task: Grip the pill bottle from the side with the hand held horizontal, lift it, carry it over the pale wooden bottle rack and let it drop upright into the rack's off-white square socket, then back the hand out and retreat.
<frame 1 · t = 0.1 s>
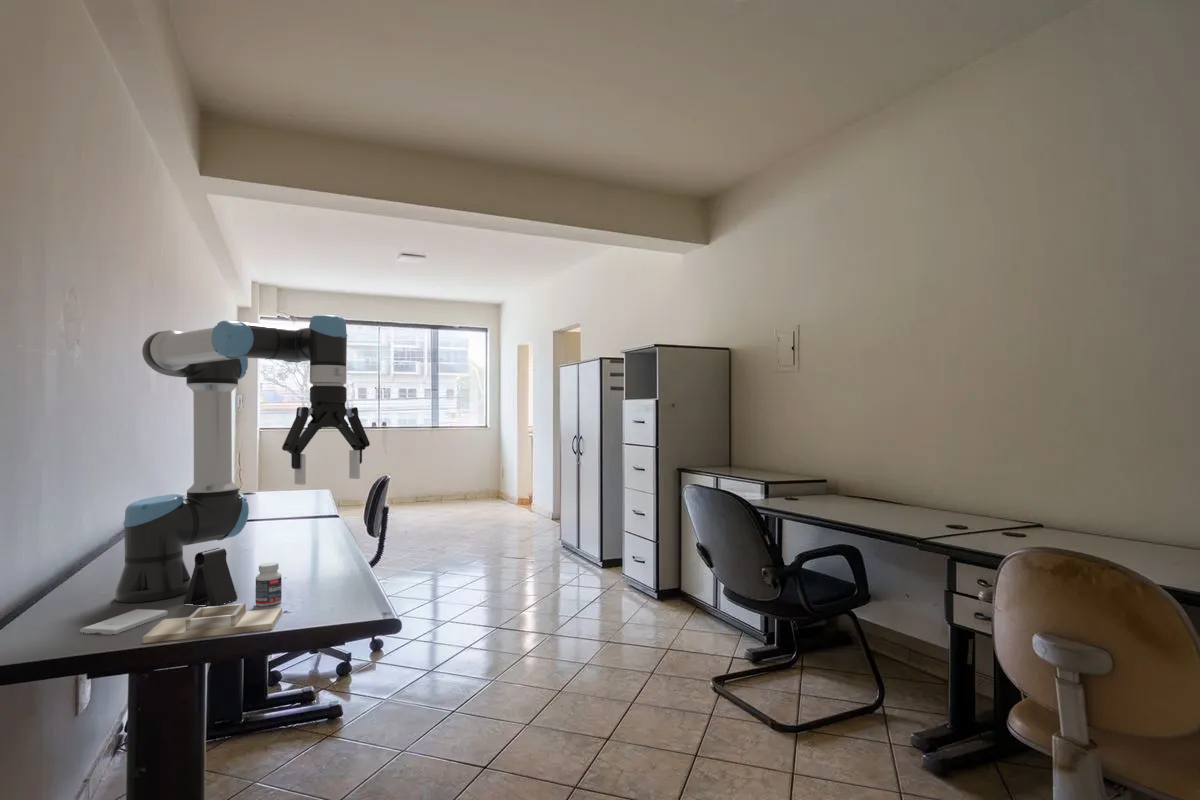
hand: (328, 481, 141), 28 cm above the table, tool pointing down, fingers open, 13 cm apart
phone stand: (211, 603, 147), on the table
external hard drive: (125, 627, 133), on the table
bottle rack: (216, 627, 129), on the table
pill bottle: (268, 604, 145), on the table
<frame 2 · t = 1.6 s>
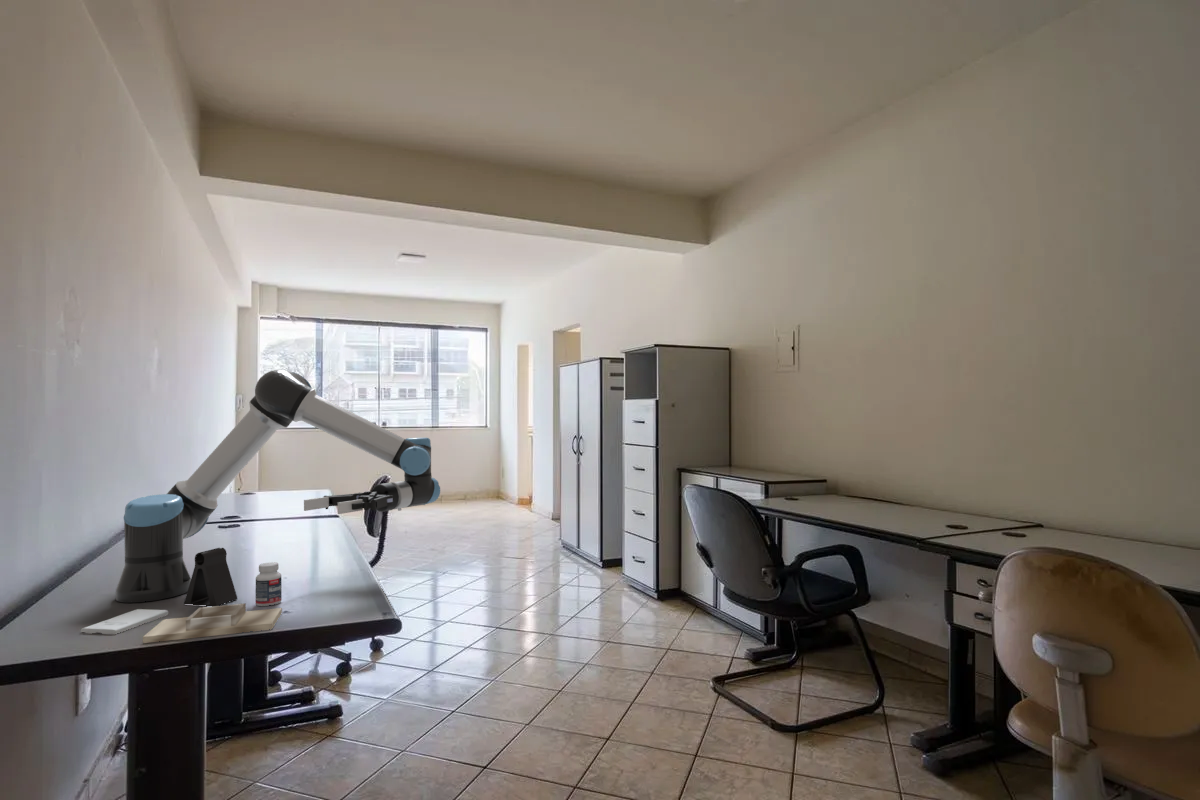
hand: (321, 506, 157), 20 cm above the table, tool horizontal, fingers open, 13 cm apart
nothing on the table moved.
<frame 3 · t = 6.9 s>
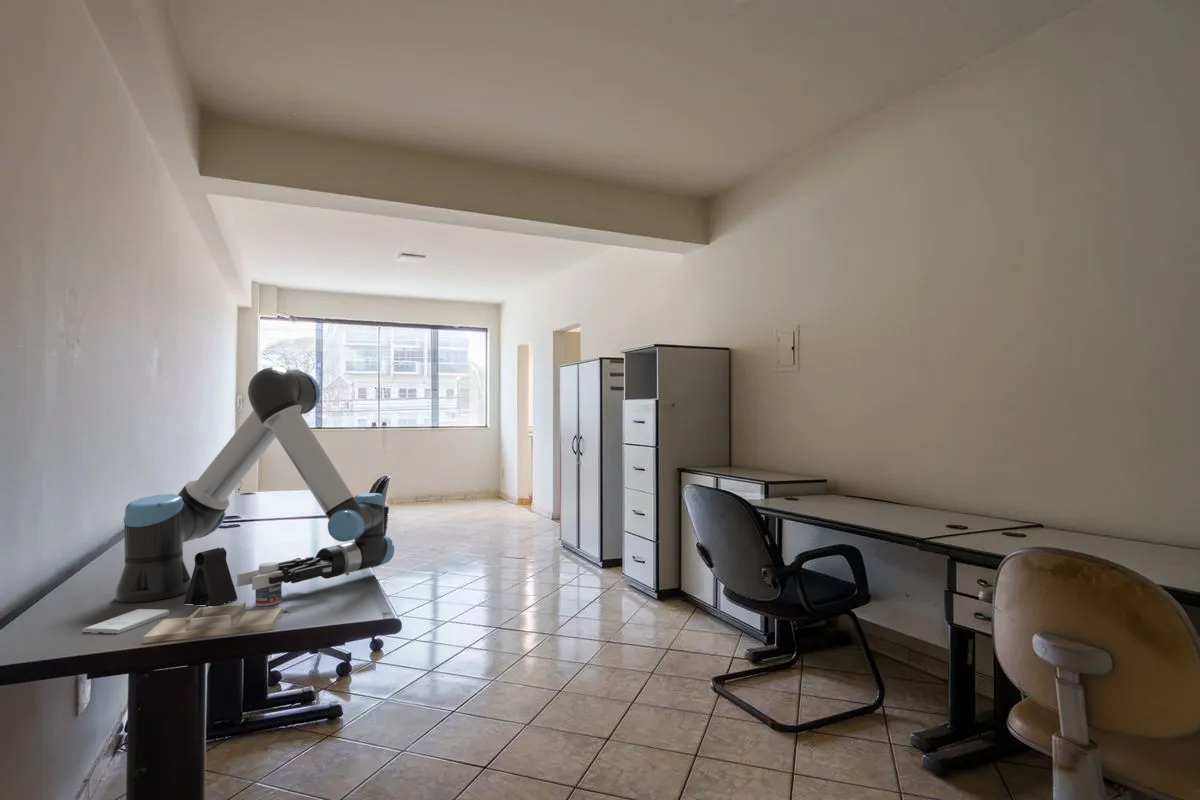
hand: (245, 581, 141), 6 cm above the table, tool horizontal, fingers closed on pill bottle, 5 cm apart
pill bottle: (268, 604, 145), on the table, touching gripper
everything else where it was.
when the fingers open (8 cm above the table, at t = 11.8 s): pill bottle stays where it is, resting on bottle rack.
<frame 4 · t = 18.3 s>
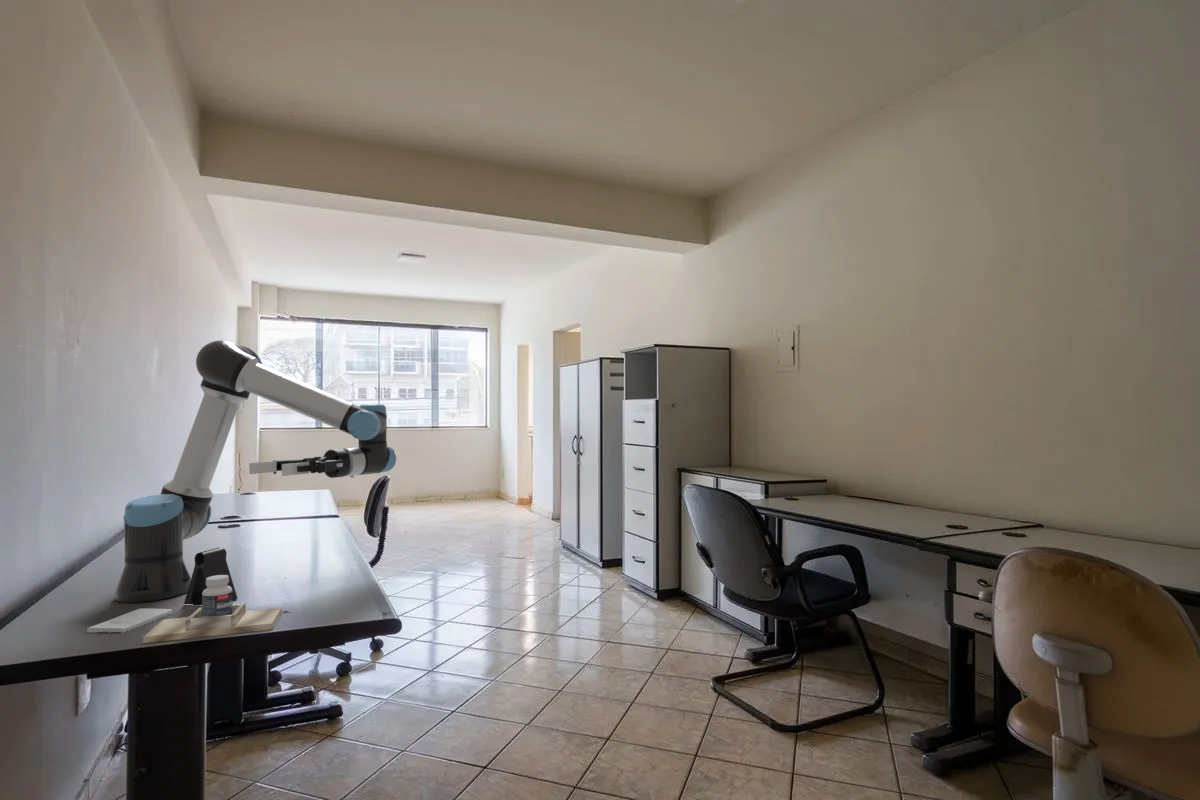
hand: (265, 469, 153), 30 cm above the table, tool horizontal, fingers open, 13 cm apart
pill bottle: (217, 622, 129), point 1 cm above the table, touching bottle rack
everything else where it was.
at the end: pill bottle 0.1 cm off-centre on the bottle rack, point 1.0 cm above the bottle rack's base; pill bottle tilted 0°; the gripper is holding nothing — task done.
